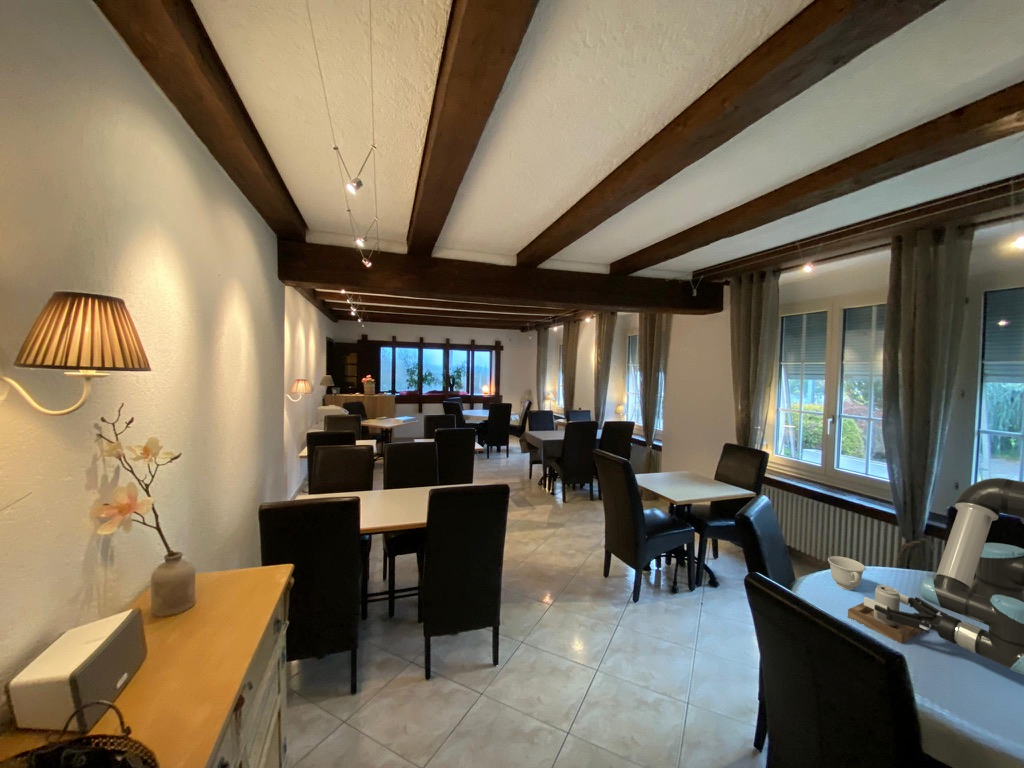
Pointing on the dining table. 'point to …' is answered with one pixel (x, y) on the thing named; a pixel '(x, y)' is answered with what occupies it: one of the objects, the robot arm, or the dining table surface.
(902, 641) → the tray
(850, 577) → the teacup
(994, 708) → the dining table surface
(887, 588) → the beverage can
